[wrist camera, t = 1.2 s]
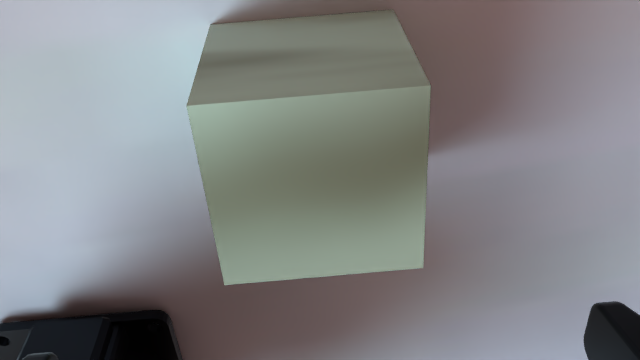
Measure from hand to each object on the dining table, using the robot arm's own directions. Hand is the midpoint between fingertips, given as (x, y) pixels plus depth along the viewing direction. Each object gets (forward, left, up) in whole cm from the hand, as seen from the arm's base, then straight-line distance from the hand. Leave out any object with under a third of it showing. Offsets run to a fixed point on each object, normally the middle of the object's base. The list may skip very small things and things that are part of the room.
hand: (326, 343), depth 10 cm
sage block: (0, 0, -9) cm, 9 cm away
